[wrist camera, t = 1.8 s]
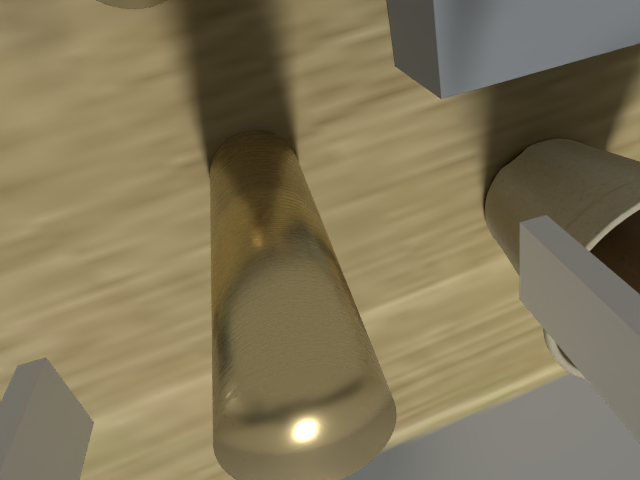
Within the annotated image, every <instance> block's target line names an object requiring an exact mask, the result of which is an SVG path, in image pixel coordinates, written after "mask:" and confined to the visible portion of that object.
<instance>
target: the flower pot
mask: <svg viewBox="0 0 640 480" xmlns="http://www.w3.org/2000/svg"><path fill="white" fill-rule="evenodd" d="M544 215H547V216H548V217H549V218H551V219H552V220H553V221H554V222H555V223H556V224H558V225H559V226H560V227H561V228H562V229H564V230H565V231H566V232H567V233H568V234H569V235H571V236H572V237H573V238H574V239H575V240H576V241H578V242H579V243H580V244H581V245H582V246H583V247H585V248H586V249H587V250H588V251H589V252H591V253H592V254H593V255H594V256H595V257H596V258H598V259H599V260H600V261H601V262H602V263H603V264H605V265H606V266H607V267H608V268H609V269H610V270H612V271H613V272H614V273H615V274H616V275H618V276H619V277H620V278H621V279H622V280H623V281H625V282H626V283H627V284H628V285H629V286H630V287H632V288H633V289H634V290H635V291H636V292H637V293H639V294H640V162H639V161H636V160H633V159H629V158H626V157H623V156H620V155H617V154H613V153H610V152H607V151H604V150H601V149H598V148H595V147H592V146H588V145H585V144H582V143H580V142H577V141H574V140H569V139H551V140H546V141H541V142H539V143H536V144H533V145H531V146H529V147H527V148H526V149H525V150H524V151H523V152H522V153H521V154H520V155H519V156H518V157H517V158H516V159H514V160H513V161H512V162H510V163H509V164H508V165H506V166H504V167H503V168H502V169H501V170H500V171H499V173H498V174H497V175H496V177H495V179H494V181H493V182H492V184H491V186H490V189H489V192H488V194H487V198H486V203H485V219H486V223H487V226H488V228H489V230H490V232H491V234H492V236H493V237H494V238H495V240H496V241H497V242H498V244H499V245H500V246H501V248H502V249H503V251H504V253H505V254H506V256H507V257H508V259H509V260H510V262H511V264H512V265H513V267H514V268H515V270H516V271H517V273H518V275H519V276H520V222H523V221H527V220H530V219H534V218H537V217H541V216H544ZM543 332H544V338H545V342H546V345H547V347H548V349H549V351H550V353H551V354H552V356H553V358H554V359H555V360H556V361H557V363H558V364H559V365H560V366H561V367H562V368H563V369H565V370H566V371H567V372H569V373H571V374H573V375H575V376H578V377H580V378H583V379H586V378H585V377H584V376H583V375H582V374H581V372H580V371H579V370H578V369H577V367H576V366H575V365H574V364H573V363H572V361H571V360H570V359H569V358H568V357H567V355H566V354H565V353H564V352H563V351H562V349H561V348H560V347H559V346H558V345H557V343H556V342H555V341H554V340H553V339H552V337H551V336H550V335H549V334H548V333H547V331H546V330H545V329H544V328H543Z"/></svg>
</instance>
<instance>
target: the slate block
mask: <svg viewBox="0 0 640 480" xmlns="http://www.w3.org/2000/svg"><path fill="white" fill-rule="evenodd" d="M387 7H388V14H389V22H390V30H391V37H392V45H393V53H394V61H395V67H397V68H398V69H400V70H401V71H402V72H404V73H405V74H407V75H408V76H409V77H411V78H412V79H414V80H415V81H417V82H418V83H419V84H421V85H422V86H424V87H425V88H426V89H428V90H429V91H431V92H432V93H434V94H435V95H436V96H438V97H439V98H441V99H444V98H447V97H451V96H454V95H458V94H461V93H465V92H469V91H472V90H476V89H479V88H483V87H486V86H490V85H493V84H497V83H501V82H504V81H508V80H511V79H515V78H518V77H522V76H525V75H529V74H533V73H536V72H540V71H543V70H547V69H550V68H554V67H557V66H561V65H565V64H568V63H572V62H575V61H579V60H582V59H586V58H589V57H593V56H597V55H600V54H604V53H607V52H611V51H614V50H618V49H621V48H625V47H629V46H632V45H636V44H639V43H640V0H387Z"/></svg>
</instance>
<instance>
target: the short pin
mask: <svg viewBox="0 0 640 480" xmlns="http://www.w3.org/2000/svg"><path fill="white" fill-rule="evenodd" d="M97 1H99V2H101V3H104V4H107V5H110V6H114V7H118V8H125V9H143V8H148V7H153V6H156V5H158V4H161V3H163V2H165V1H167V0H97Z"/></svg>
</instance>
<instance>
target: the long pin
mask: <svg viewBox="0 0 640 480" xmlns="http://www.w3.org/2000/svg"><path fill="white" fill-rule="evenodd" d="M210 218H211V301H212V384H213V448H214V453H215V456H216V458H217V460H218V462H219V464H220V465H221V467H222V468H223V469H224V470H225V471H226V472H227V473H228V474H229V475H230V476H232V477H233V478H234V479H236V480H341V479H343V478H345V477H347V476H349V475H351V474H353V473H354V472H356V471H358V470H359V469H361V468H362V467H364V466H365V465H366V464H368V463H369V462H370V461H372V459H374V458H375V457H376V456H377V455H378V454H379V453H380V452H381V450H382V449H383V448H384V447H385V446H386V444H387V442H388V441H389V439H390V437H391V435H392V433H393V431H394V427H395V423H396V406H395V403H394V400H393V397H392V395H391V392H390V390H389V387H388V385H387V382H386V380H385V377H384V375H383V372H382V370H381V367H380V365H379V362H378V360H377V357H376V355H375V352H374V350H373V347H372V345H371V342H370V340H369V337H368V335H367V332H366V330H365V327H364V325H363V322H362V320H361V317H360V315H359V312H358V310H357V307H356V305H355V302H354V300H353V297H352V295H351V292H350V290H349V287H348V285H347V282H346V280H345V277H344V275H343V272H342V270H341V267H340V265H339V262H338V260H337V257H336V255H335V252H334V250H333V247H332V245H331V242H330V240H329V237H328V235H327V232H326V230H325V227H324V225H323V222H322V220H321V217H320V215H319V212H318V210H317V207H316V205H315V202H314V200H313V197H312V195H311V192H310V190H309V187H308V184H307V182H306V179H305V177H304V174H303V172H302V169H301V167H300V164H299V162H298V159H297V157H296V155H295V153H294V151H293V150H292V148H291V147H290V146H289V145H288V144H287V143H286V142H285V141H284V140H282V139H281V138H279V137H277V136H275V135H273V134H270V133H267V132H261V131H250V132H244V133H241V134H238V135H235V136H233V137H231V138H230V139H228V140H227V141H226V142H224V143H223V144H222V145H221V146H220V148H219V149H218V150H217V152H216V153H215V155H214V157H213V159H212V162H211V167H210Z"/></svg>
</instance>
